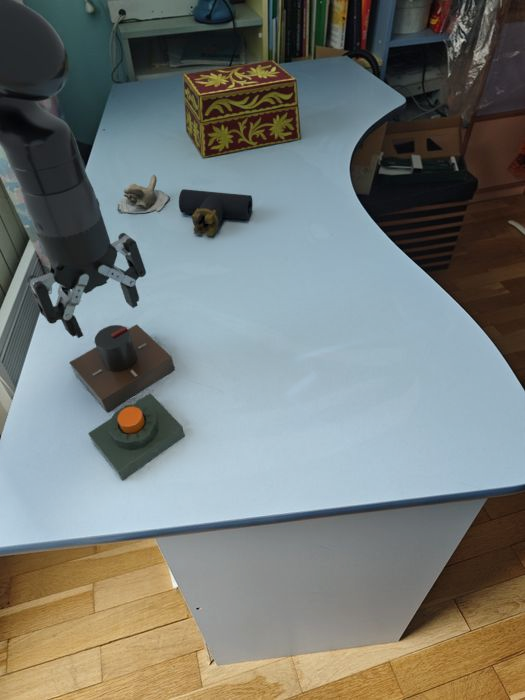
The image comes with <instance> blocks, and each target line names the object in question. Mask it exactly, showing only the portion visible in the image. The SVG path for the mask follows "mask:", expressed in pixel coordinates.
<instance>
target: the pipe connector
mask: <svg viewBox="0 0 525 700" xmlns="http://www.w3.org/2000/svg"><path fill="white" fill-rule="evenodd" d="M253 205H254V203H253V197H252V195H250V194H249V195H248V194H240V193H230V192H228V193H227V192H219V191H218V192H217V191H208V190H207V191H206V190H205V191H204V190H196V189H184V188H182V189H181V191H180V192H179V196H178V208H179V211H180V213H182V214H187V215H192V216H191V220H192V224H193V234H194V235H200V236H201V235H202V234H206V236H208V237H209V236H210V237H214V235H215V233H216V232H217V230H218V227H219V224H220V222H221V221H222V219H223V218H225V219H238V220H248V221H249V220H250V219H251V217H252V213H253Z"/></svg>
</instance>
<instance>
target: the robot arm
mask: <svg viewBox="0 0 525 700" xmlns="http://www.w3.org/2000/svg"><path fill="white" fill-rule="evenodd" d="M69 70H70V64H69V57H68V54H67V50H66V47H65V44H64V42H63V40H62V38H61V37H60V35H59V33H58V32H57V31H56V29H55V28H54V26H53V25H52V24H51V23H50V22H49V21H48V20H46V19H45V17H43V16H42V15H41V14H40V13H38V12H37V11H35V10H34V9H32V8H31V7H29V6H28V5H25V4H24V3H22V2H19V1H17V0H0V147H1V148H2V150H3V152H4V154H5V157H6V159H7V162H8V164H9V167H10V169H11V171H12V174H13V176H14V178H15V180H16V183H17V186H18V188H19V190H20V192H21V196H22V199H23V203H24V206H25V207H24V208H25V209H26V212H27V214H28V217H29V219H30V221H31V223H32V225H33V228H34V230H35V232H36V234H37V237H38V239H39V241H40V243H41V244H40V245H41V246H42V248H43V251H44V253H45V255H46V257H47V260H48V262H49V265H50V270H49V272H48V273H45V274H43V275H41V276H37V275H35V274H32V275H29V276H28V277H27V281H26V282H27V284H28V286H29V289H30V290H31V293H32V295H33V299H34V301H35V304H36V306H37V309H38V310H39V313H40V314H41V315H42V316H43V317H44V318H45V319H46V321H47V322H48V324H52V325H53V324H56V323H57V321H61V322H62V324H63V327H64V329H65V331H66V332H67V333H68V334H69V335H70V336H71V337H72V338H73V337H75V336H76V337H77V339H80V338H83V337H84V333H83V331H82V329H81V327H80V325H79V322H78V320H77V318H76V315H74V313H75V310H76V307H77V306H79V304H80V302H81V299H82V297H83V294H85V295H87V294H89V293H90V292H92V291H93V290H94V289H96V288H98V287H102V286H104V285H106V284H108V281H109V279H111V280H114V281H115V282H118V283H119V284H120V287H121V291H122V294H123V297H124V300H125V302H126V304H128V306H129V307H131V308H132V309H135V308H137V307H138V302H139V301H140V296H139V292H138V288H137V285H136V283H137V280H138V279H139V278H143V277H145V276H146V274H147V271H146V267H145V264H144V262H143V258H142V255H141V253H140V249H139V247H138V244H137V241H135V239H133V238H132V237H130V236H129V235H128V234H127V233H125V232H121V233H120V234H119V235H118V239H117V240H115V241H114V242H112V243H111V240H110V237H109V233H108V230H107V227H106V224H105V221H104V218H103V214H102V211H101V207H100V206H101V205H100V202H99V199H98V197H97V196H96V192H95V190H94V187H93V186H92V185H93V184H92V183H91V180H90V179H89V176H88V174H87V171H86V168H85V166H84V163H83V159H82V156H81V153H80V149H79V146H78V143H77V140H76V137H75V135H74V132H73V131H72V128H71V126H70V125H68V123H67V122H66V121H65V120H63V119H62V118H60V117H58V116H56V115H54V114H52V113H50V112H49V111H47V110H45V109H44V108H43V107H42V106H41V105H40V104H39V103H38V102H42V101H47V100H49V99H52V98H53V97H55V96H57V95H58V94H59V93H60V92H61V91H62V89H63V88H64V87H65V85H66V83H67V81H68V77H69V76H68V75H69V72H70V71H69ZM118 253H119V254H121V255H122V256H124V257H125V260H126V263H127V265H128V268H127V269H126V270H123V269H122V268H120V267H117V266H116V265H115V263H116V261H117V258H118ZM55 283H57V284H59V286H58V289H57V295H58V296H57V299H56V302H55V306H54V304H53V301H52V299H51V296H50V295H51V294H52V293H53V285H54V284H55Z"/></svg>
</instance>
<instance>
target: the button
mask: <svg viewBox="0 0 525 700" xmlns="http://www.w3.org/2000/svg"><path fill="white" fill-rule="evenodd" d="M118 423H119V425H120V427H121V429H122V431H123V432H125V433H128V434H133V433H136V432H138V431H140V430H141V429H142V428H143V426H144V424H145V420H144V417H143V414H142V411H141V410H140V409H139V408H137V407H127V408H125V409H123V410H122V411H121V412H120V413H119V415H118Z"/></svg>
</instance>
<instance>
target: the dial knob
mask: <svg viewBox="0 0 525 700" xmlns="http://www.w3.org/2000/svg"><path fill="white" fill-rule="evenodd" d="M128 329H129V328H128V327H127V326H124V325H121V324H113V325H112V324H111V325H108V326H105V327H104V328H102V329H100V330H99V331H98V332H97V333H96V334H95V336H94V344H95V348H96V347H97V349H98V352H99V354H100V356H101V359H102V361H103V364H104V366H105V367H106V368H107V369H108V370H110V371H115V372H118V371H123V370H126V369H128V368H130V367H131V366H132V365H133V364H134V363H135V361H136V359H137V354H136V351H135V348H134V345H133V342H132V339H131V336H130V333H129V331H128Z"/></svg>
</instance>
